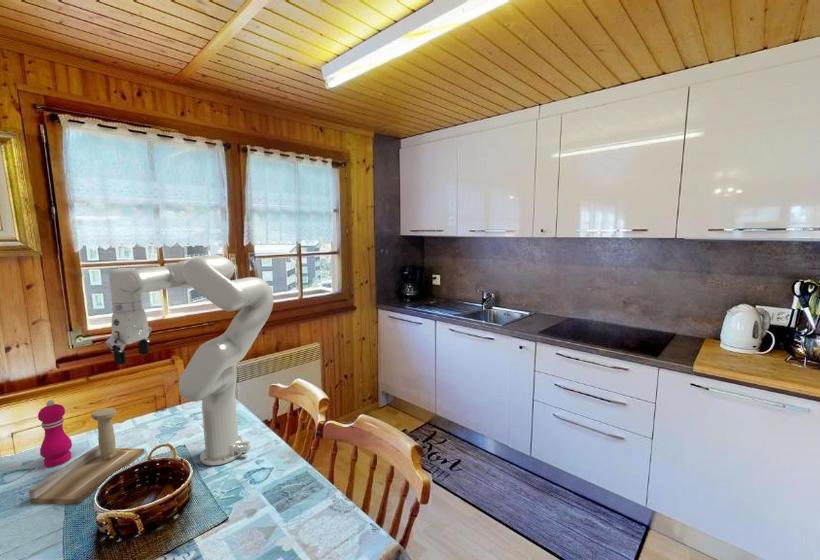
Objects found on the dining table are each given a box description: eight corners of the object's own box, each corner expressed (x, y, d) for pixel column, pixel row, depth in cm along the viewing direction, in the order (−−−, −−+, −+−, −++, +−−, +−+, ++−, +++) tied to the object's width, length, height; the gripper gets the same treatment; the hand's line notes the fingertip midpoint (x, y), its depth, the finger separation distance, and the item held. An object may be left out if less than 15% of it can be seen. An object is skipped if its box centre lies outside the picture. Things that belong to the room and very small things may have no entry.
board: (144, 452, 119) (143, 441, 119) (78, 504, 96) (76, 490, 96) (105, 452, 120) (104, 440, 119) (30, 503, 97) (28, 489, 96)
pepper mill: (36, 465, 113) (28, 403, 111) (65, 452, 120) (58, 394, 117) (49, 470, 111) (41, 407, 108) (78, 457, 117) (71, 397, 115)
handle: (109, 463, 111) (104, 416, 110) (92, 460, 113) (86, 414, 111) (124, 454, 116) (119, 409, 114) (108, 451, 117) (103, 407, 116)
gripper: (116, 312, 109) (122, 368, 111) (158, 302, 126) (162, 350, 128) (92, 312, 109) (98, 368, 111) (137, 302, 126) (141, 350, 128)
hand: (132, 358), depth 120 cm, fingers open, 9 cm apart
